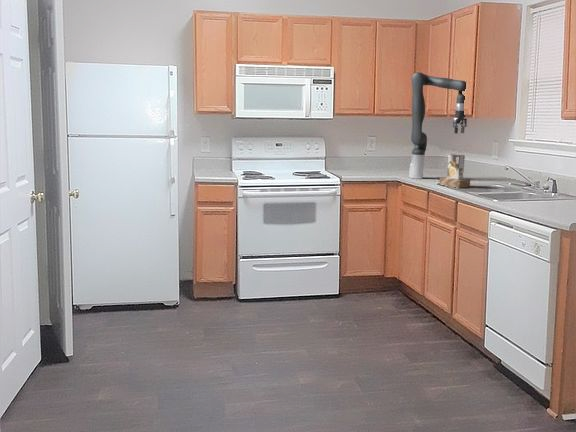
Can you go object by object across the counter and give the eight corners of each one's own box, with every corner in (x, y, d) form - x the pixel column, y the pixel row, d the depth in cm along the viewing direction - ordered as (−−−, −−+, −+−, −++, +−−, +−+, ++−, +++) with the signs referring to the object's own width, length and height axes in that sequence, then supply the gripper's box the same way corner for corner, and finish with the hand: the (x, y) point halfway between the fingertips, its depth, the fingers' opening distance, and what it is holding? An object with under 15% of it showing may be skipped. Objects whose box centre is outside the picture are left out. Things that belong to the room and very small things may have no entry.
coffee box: (463, 179, 446) (465, 155, 443) (458, 179, 441) (460, 155, 438) (451, 177, 452) (453, 153, 449) (446, 178, 447) (448, 154, 444)
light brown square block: (439, 185, 447) (439, 178, 446) (450, 183, 457) (450, 176, 456) (459, 188, 437) (459, 180, 436) (469, 186, 447) (470, 179, 446)
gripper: (461, 109, 470) (459, 132, 473) (450, 109, 460) (448, 133, 463) (471, 110, 465) (469, 133, 468) (460, 110, 455) (458, 133, 458)
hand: (459, 133), depth 466 cm, fingers open, 8 cm apart
